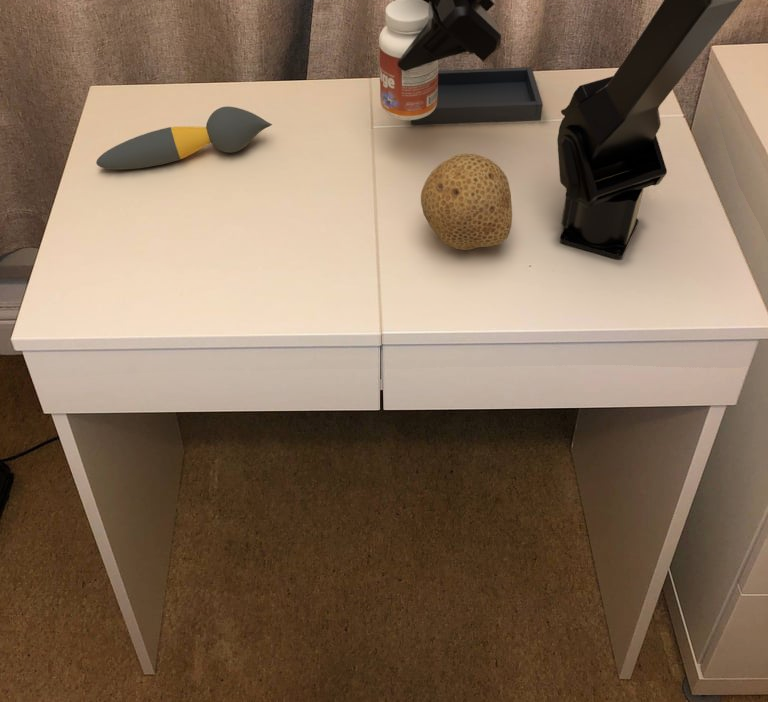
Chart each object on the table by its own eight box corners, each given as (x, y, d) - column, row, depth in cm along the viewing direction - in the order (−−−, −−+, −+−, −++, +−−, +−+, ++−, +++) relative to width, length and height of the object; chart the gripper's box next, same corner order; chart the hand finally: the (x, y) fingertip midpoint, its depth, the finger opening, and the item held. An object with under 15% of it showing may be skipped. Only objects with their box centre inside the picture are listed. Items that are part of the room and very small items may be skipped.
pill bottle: (375, 94, 96) (372, -3, 88) (429, 87, 97) (431, -10, 89) (386, 125, 92) (384, 27, 84) (443, 118, 93) (446, 19, 85)
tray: (529, 82, 109) (531, 66, 107) (540, 120, 103) (542, 104, 101) (406, 87, 108) (406, 71, 107) (411, 125, 103) (411, 109, 101)
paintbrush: (104, 191, 95) (92, 153, 92) (97, 166, 98) (85, 128, 95) (277, 150, 100) (273, 112, 96) (265, 128, 103) (260, 90, 99)
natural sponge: (423, 211, 92) (424, 130, 85) (507, 215, 91) (517, 133, 84) (417, 269, 86) (418, 187, 79) (507, 273, 85) (517, 191, 78)
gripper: (435, -163, 84) (329, -39, 91) (473, -85, 72) (347, 50, 79) (508, -84, 90) (403, 25, 98) (555, -1, 78) (431, 118, 85)
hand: (395, 51), depth 90 cm, fingers closed on pill bottle, 6 cm apart
